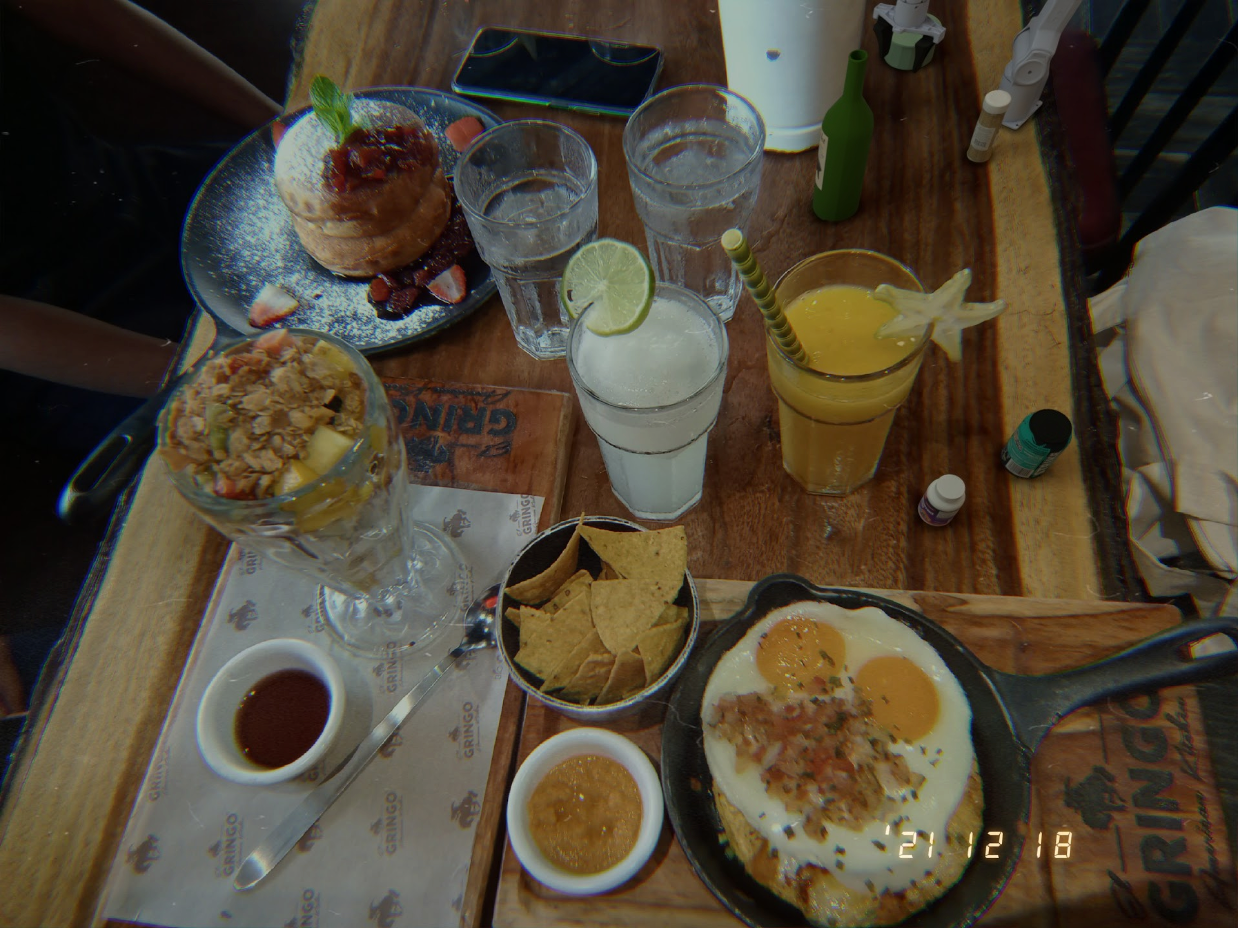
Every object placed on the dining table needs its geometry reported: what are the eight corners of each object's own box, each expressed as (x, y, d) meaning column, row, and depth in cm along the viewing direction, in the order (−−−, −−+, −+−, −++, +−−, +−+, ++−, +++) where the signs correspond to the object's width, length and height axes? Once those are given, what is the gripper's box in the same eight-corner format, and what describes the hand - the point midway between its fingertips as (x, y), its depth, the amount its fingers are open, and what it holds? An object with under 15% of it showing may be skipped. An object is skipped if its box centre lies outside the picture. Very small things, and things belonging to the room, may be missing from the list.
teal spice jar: (1046, 445, 118) (1076, 407, 107) (1046, 484, 115) (1078, 449, 105) (999, 439, 120) (1024, 402, 109) (998, 477, 117) (1024, 443, 106)
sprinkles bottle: (994, 156, 146) (1017, 97, 134) (977, 168, 145) (998, 109, 133) (977, 145, 148) (998, 85, 136) (960, 156, 147) (979, 97, 135)
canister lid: (906, 10, 161) (911, -13, 157) (951, 28, 157) (958, 4, 152) (874, 38, 159) (878, 15, 154) (919, 57, 154) (924, 34, 150)
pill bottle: (913, 498, 117) (927, 472, 109) (947, 493, 117) (964, 467, 108) (922, 529, 115) (937, 505, 106) (957, 524, 115) (975, 500, 106)
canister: (902, 33, 165) (907, 9, 160) (943, 49, 161) (949, 25, 156) (874, 59, 163) (878, 35, 158) (914, 76, 159) (919, 52, 154)
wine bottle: (808, 194, 149) (824, 43, 120) (852, 186, 148) (879, 32, 119) (817, 226, 145) (836, 78, 116) (863, 218, 144) (894, 67, 115)
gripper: (868, -7, 137) (857, 61, 149) (935, 20, 131) (919, 88, 143) (891, -27, 138) (879, 41, 150) (959, -1, 132) (941, 67, 144)
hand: (900, 63), depth 147 cm, fingers open, 7 cm apart
